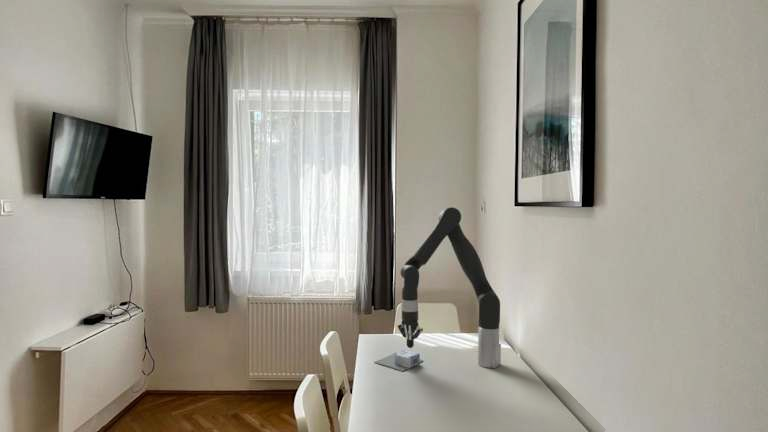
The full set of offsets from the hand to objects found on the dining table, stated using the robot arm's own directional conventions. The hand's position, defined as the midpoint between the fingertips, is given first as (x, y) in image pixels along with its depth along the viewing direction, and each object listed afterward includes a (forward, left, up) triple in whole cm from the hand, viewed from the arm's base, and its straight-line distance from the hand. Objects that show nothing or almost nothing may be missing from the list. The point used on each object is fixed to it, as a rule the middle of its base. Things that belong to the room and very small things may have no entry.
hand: (410, 347), depth 185 cm
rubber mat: (+6, 0, -8) cm, 10 cm away
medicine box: (-3, 0, -6) cm, 6 cm away
